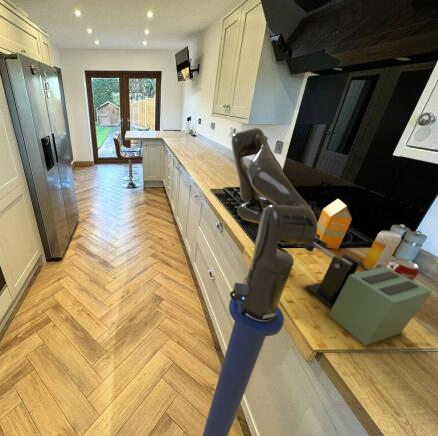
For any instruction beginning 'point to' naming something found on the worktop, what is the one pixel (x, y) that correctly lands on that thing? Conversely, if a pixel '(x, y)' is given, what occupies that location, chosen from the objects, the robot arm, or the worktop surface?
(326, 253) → the lever
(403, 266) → the soda can
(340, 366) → the worktop surface
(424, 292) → the toaster
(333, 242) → the orange juice
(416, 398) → the worktop surface
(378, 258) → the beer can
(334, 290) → the bracket
